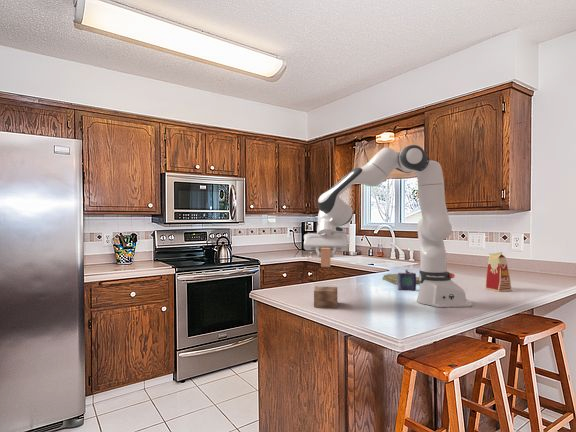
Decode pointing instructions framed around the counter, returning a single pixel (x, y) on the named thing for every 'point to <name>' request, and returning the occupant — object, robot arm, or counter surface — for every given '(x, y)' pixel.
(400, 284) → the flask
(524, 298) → the counter surface
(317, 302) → the small wooden cube
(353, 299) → the counter surface
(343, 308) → the counter surface
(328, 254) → the terracotta block
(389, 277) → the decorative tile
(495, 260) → the milk carton
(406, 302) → the counter surface
